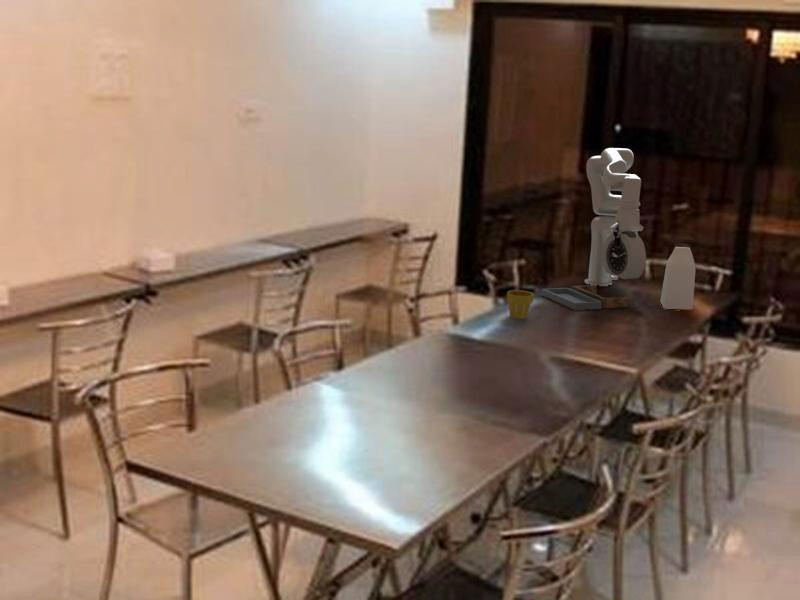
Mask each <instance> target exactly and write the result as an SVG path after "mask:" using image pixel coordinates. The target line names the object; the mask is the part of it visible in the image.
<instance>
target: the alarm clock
mask: <svg viewBox="0 0 800 600" xmlns="http://www.w3.org/2000/svg"><path fill="white" fill-rule="evenodd" d="M619 238H620V247H617V246H614V240H615V237H614V235H613V234H611V235H610V236H608V238H607V239H606V241H605V244H604V247H603V255H602V259H603V265H604V268H605V271H606V272H607V273H609V274H610V275H612V276H617V277H618V278H620V279H622V280H629V279H631V280H632V279H633V280H635V279H639V278H640V277H641V275H642V274H643V272H644V271H645V267H646V262H647V252H646V248H645V247H646V246H645V244H644V241H643V239H642V238H641V237H640V235H639V236H638V235H637V234H636V233H634V232H622V234H621V235H620V237H619Z"/></svg>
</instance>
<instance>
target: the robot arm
mask: <svg viewBox="0 0 800 600" xmlns="http://www.w3.org/2000/svg"><path fill="white" fill-rule="evenodd" d="M634 159H635V157H634V153H633V151H632V150H631V149H629V148H621V147H620V148H619V147H615V148H614V147H608V148H605V149H603V150H602V152H601V154H600V155H594V156H591V157H590V158H588V160H587V162H586V169H585V170H586V176H587V179H588V182H589V185H590V189H591V201H592V210H593V212H594V214H595V215H599V216H596V217H594V218H593V219H592V221H591V222H590V223H591V224H590V231H591V246H590V257H589V266H588V267H589V268H588V278H586V279H584V283H585V284H586V285H589V284H590V285H599V286H598V287H609V286H608V285H611V286H612V285H613V282H612V281H613V280H615V281H616V280H619V277H617V276H615V275H612V274H609V273H607V272H606V271H605V268H604V265H603V259H602V255H603V247H604V244H605V241H606V239H607V238H608V236H610V235H611V234H613V235H614V237H615V240H614V246H617V247H620V238H619V237H620V235H621V234H622V232H634V233H636V234H637V235H638V236H639V237H640V235H641V233H642V231H643V230H644V228H645V227H644V226H643V225H642V224H641V223H640V219H641V218H640V216H641V214H640V209H639V207H640V206H641V205H642V204H641V202H640V195H641V186H642V180H641V178H640V177H639V176H638V175H637V174H635V173H634V174H631V173H629V174H628V173H626V172H627V171H628V170H629V169H630V168H631V167H632V166H633V164H634ZM616 191H617V192H621V195H620V194H613V193H611V192H616Z"/></svg>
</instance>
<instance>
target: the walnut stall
mask: <svg viewBox="0 0 800 600" xmlns="http://www.w3.org/2000/svg"><path fill="white" fill-rule="evenodd" d="M571 289H572V290H574V291H577V292H579V293H581V294H584V295H586V296H589V297H591V298H594V299H596V300H598V301H601V302H602V308H601V309H613V308H614V309H615V308H628V304H629V297H627V296H626V297H624V296H623V297H622V296H621V297H603V296H601V295H599V294H597V289H598V286H597V285H589V284H586V285H572V286H571Z"/></svg>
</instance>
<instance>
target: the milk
mask: <svg viewBox="0 0 800 600" xmlns="http://www.w3.org/2000/svg"><path fill="white" fill-rule="evenodd" d="M695 263H696V262H695V259H694V256H693V252H692V250H691V248H690V247H685V246H684V247H683V246H682V247H681V246H675V247H674V248H673V251H672V253H671V254H670V256H669V258H668V259H667V261H666V263H665V264H666V265H665V272H664V277H663V283H662V290H661V293H660V301H659V302H661V304H662V306H663V307H662V306H661V307H662V309H663V308H665V309H664V310H666V309H694V296H695V295H694V294H695V283H696V282H695V281H696V280H695V279H696V264H695ZM661 304H660V305H661Z"/></svg>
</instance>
